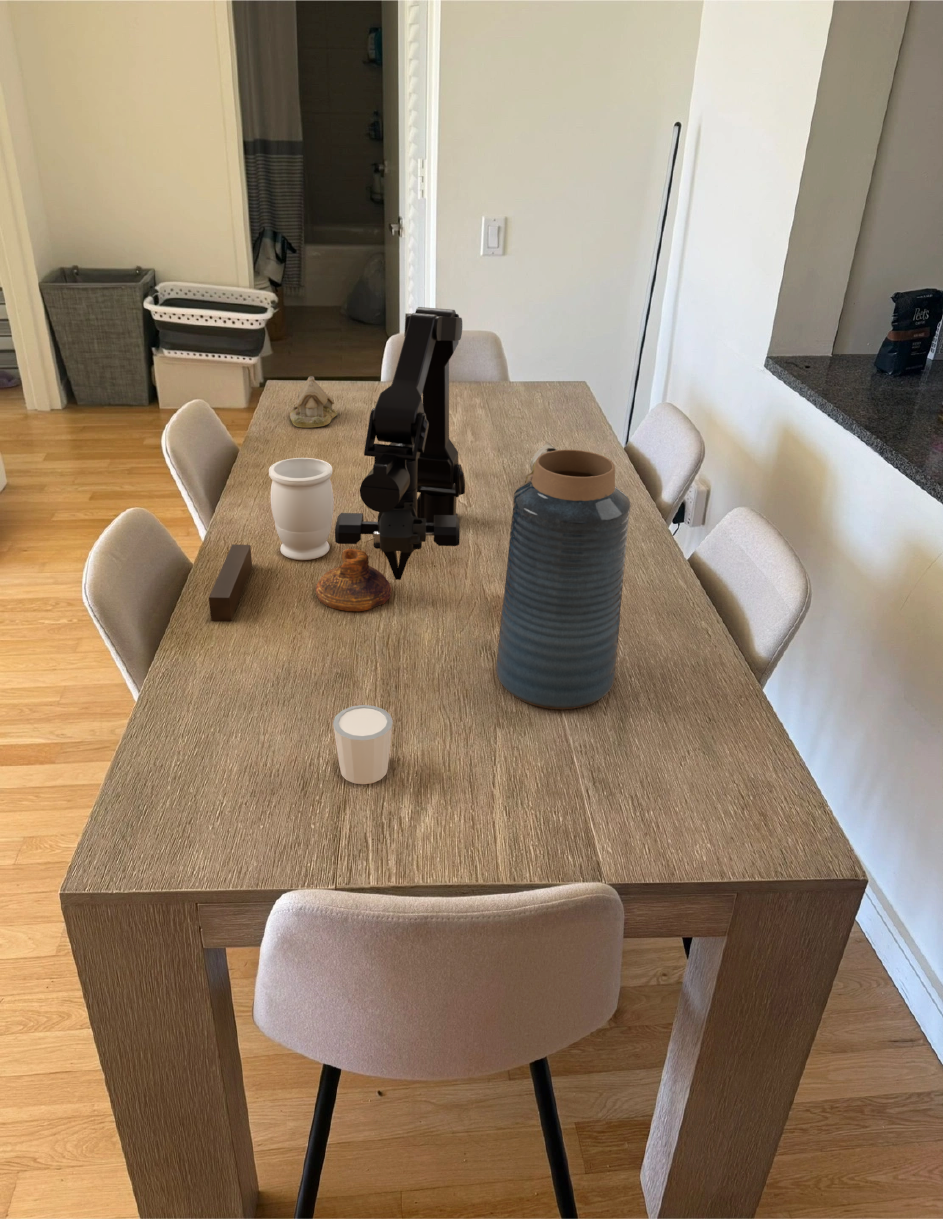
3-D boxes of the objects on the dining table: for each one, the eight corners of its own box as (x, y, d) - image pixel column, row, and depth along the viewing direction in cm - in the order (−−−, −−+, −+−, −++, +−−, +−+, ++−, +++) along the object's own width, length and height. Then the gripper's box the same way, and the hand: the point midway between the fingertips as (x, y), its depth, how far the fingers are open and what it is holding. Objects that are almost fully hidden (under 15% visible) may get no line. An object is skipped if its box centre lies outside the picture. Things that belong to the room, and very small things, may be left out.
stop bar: (252, 566, 157) (250, 544, 155) (231, 621, 141) (229, 597, 139) (234, 566, 157) (232, 544, 155) (211, 620, 141) (208, 597, 139)
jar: (323, 567, 157) (319, 483, 150) (264, 559, 159) (258, 476, 151) (343, 541, 166) (341, 460, 159) (287, 534, 168) (282, 453, 160)
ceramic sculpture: (574, 435, 193) (583, 465, 181) (570, 473, 198) (579, 506, 185) (522, 434, 193) (528, 464, 180) (519, 473, 198) (525, 505, 185)
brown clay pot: (380, 617, 144) (379, 574, 140) (305, 607, 146) (302, 564, 142) (400, 582, 154) (400, 542, 150) (329, 573, 156) (328, 533, 152)
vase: (534, 725, 121) (553, 497, 106) (474, 662, 134) (484, 449, 118) (637, 695, 128) (670, 476, 112) (572, 638, 141) (593, 433, 125)
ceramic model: (290, 409, 229) (288, 368, 224) (337, 409, 230) (336, 368, 225) (287, 428, 217) (285, 385, 212) (336, 428, 218) (335, 386, 213)
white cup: (336, 751, 115) (334, 704, 112) (392, 750, 116) (392, 703, 112) (333, 788, 109) (331, 740, 106) (393, 787, 110) (393, 738, 106)
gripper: (329, 506, 133) (333, 602, 141) (462, 509, 134) (458, 605, 142) (336, 476, 143) (340, 568, 151) (460, 479, 144) (457, 570, 151)
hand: (398, 578), depth 148 cm, fingers closed
